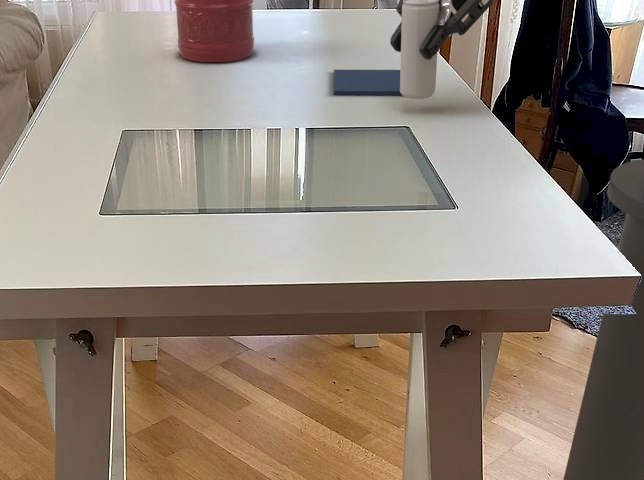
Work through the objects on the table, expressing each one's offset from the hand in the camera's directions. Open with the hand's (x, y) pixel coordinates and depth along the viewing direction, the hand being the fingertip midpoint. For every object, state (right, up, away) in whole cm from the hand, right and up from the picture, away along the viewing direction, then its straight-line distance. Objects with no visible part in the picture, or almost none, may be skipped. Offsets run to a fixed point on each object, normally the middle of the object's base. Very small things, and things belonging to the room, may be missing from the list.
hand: (409, 51), depth 111 cm
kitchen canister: (-28, +12, +33) cm, 45 cm away
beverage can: (+2, -5, +4) cm, 6 cm away
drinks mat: (-3, +2, +16) cm, 17 cm away
